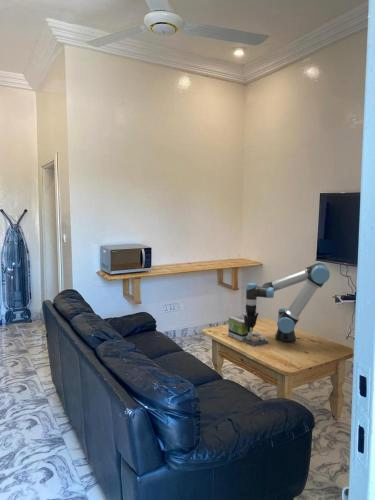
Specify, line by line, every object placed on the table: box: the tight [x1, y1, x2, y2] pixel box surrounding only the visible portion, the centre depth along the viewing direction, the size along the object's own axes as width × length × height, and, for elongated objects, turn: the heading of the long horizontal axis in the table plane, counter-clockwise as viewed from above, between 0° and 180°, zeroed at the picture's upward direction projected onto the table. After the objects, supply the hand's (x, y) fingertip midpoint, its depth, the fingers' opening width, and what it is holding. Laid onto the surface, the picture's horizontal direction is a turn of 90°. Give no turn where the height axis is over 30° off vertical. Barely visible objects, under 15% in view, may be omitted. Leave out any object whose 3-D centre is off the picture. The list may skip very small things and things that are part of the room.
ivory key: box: [257, 334, 267, 342], centre depth 280 cm, size 4×4×4 cm
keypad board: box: [242, 338, 269, 347], centre depth 281 cm, size 13×12×2 cm
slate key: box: [252, 332, 262, 337], centre depth 284 cm, size 4×4×4 cm
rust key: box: [251, 336, 260, 343], centre depth 277 cm, size 4×4×4 cm
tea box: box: [227, 315, 248, 342], centre depth 290 cm, size 15×10×15 cm, turn 37°
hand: (249, 336), depth 281 cm, fingers closed
